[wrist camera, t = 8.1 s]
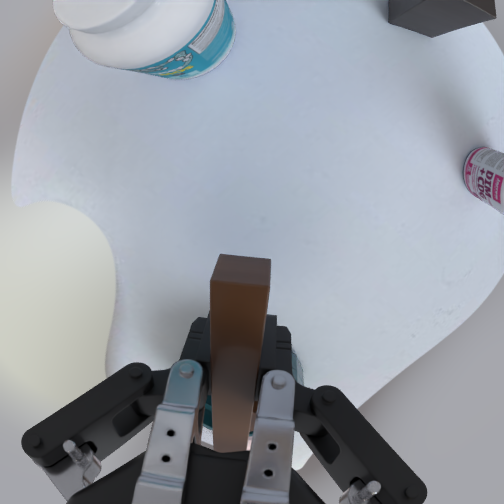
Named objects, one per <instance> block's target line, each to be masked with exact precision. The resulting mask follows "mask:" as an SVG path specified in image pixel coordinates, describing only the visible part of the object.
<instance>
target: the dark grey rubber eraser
mask: <svg viewBox="0 0 504 504" xmlns="http://www.w3.org/2000/svg"><path fill="white" fill-rule="evenodd" d="M492 19H496V9H495V1H494V0H389V23H390V24H393V25H397V26H400V27H403V28H406V29H409V30H412V31H415V32H418V33H421V34H423V35H426V36H429V37H431V38H433V37H436V36H439V35H442V34H445V33H448V32H451V31H454V30H457V29H460V28H464V27H467V26H470V25H474V24H477V23H481V22H484V21H488V20H492Z"/></svg>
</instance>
